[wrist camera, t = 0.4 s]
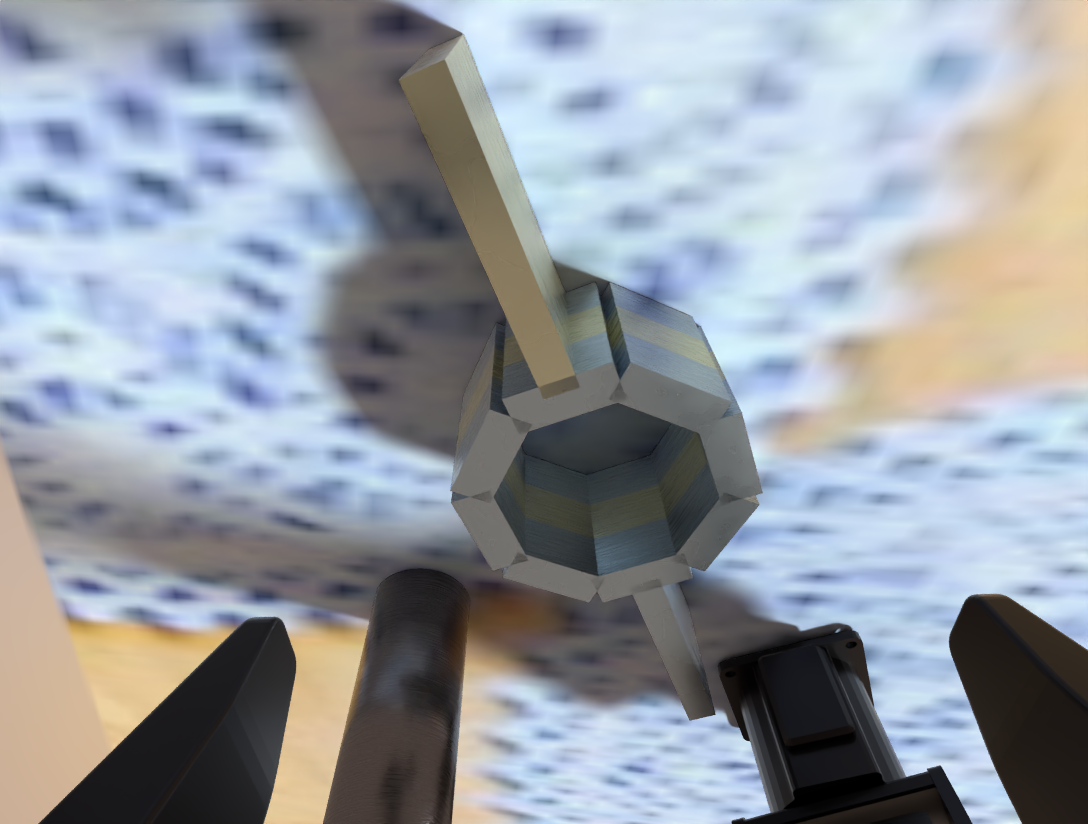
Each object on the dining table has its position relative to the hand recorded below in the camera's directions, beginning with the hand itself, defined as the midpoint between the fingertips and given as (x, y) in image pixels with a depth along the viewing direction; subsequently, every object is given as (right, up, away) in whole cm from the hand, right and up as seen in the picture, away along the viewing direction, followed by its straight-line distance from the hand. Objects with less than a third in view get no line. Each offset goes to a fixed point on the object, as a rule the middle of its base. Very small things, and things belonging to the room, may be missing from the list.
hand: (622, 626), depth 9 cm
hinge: (+1, +3, +15) cm, 15 cm away
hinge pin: (-6, -5, +20) cm, 22 cm away
